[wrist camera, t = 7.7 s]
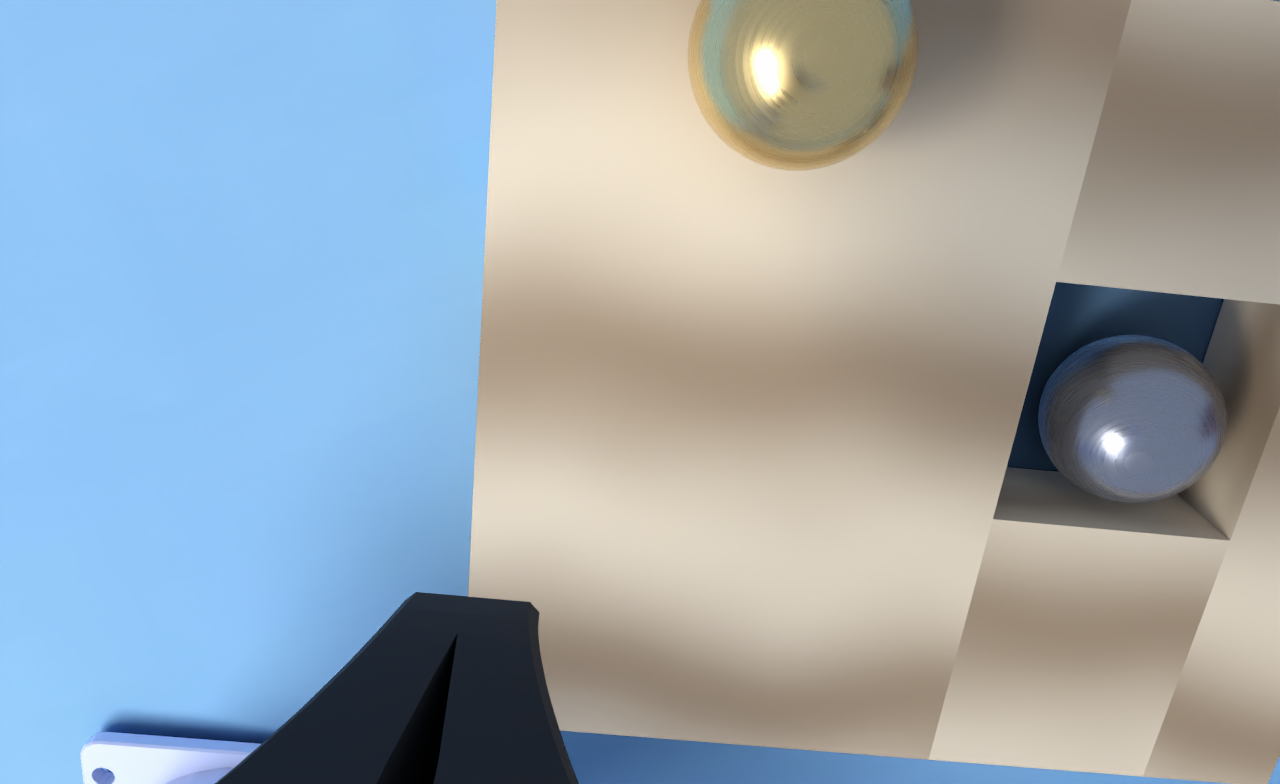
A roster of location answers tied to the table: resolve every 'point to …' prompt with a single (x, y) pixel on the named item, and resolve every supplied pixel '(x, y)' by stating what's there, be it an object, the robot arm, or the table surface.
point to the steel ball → (1132, 419)
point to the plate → (880, 393)
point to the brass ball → (801, 75)
